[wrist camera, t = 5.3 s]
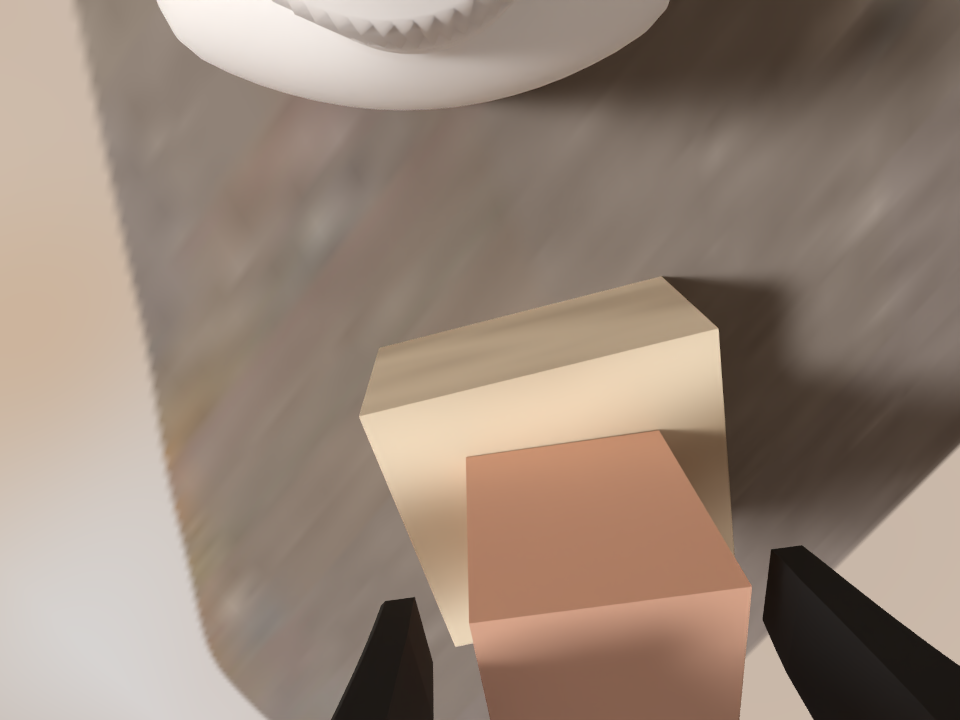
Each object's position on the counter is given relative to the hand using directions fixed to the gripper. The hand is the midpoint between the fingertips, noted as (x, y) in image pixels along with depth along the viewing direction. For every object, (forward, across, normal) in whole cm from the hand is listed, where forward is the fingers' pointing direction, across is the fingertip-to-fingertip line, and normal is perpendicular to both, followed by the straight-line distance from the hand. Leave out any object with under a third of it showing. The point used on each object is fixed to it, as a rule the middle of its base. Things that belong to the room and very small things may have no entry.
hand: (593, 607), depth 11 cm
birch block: (+7, 0, 0) cm, 7 cm away
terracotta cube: (+3, 0, 0) cm, 3 cm away
